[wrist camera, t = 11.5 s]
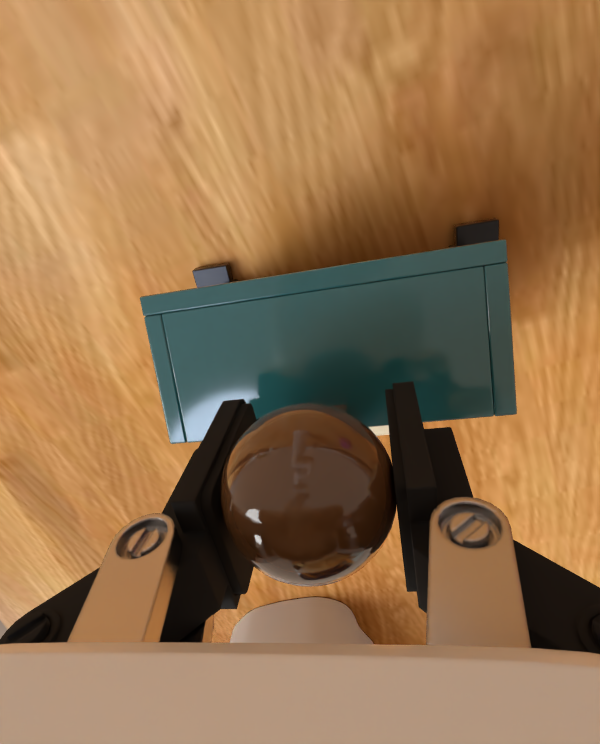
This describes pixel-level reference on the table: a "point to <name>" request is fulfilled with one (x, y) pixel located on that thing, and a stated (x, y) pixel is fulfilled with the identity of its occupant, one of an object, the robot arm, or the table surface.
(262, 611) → the lumpy-topped squat cylinder
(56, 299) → the table surface
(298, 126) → the table surface
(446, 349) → the teal drawer box
